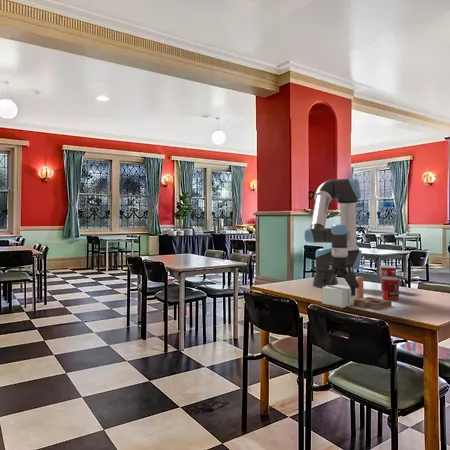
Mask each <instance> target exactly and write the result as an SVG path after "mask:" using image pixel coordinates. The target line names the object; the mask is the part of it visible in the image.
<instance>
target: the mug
mask: <svg viewBox="0 0 450 450" xmlns="http://www.w3.org/2000/svg"><path fill="white" fill-rule="evenodd" d="M379 272H380V273H379V274H380V288H381V291H383V284H382V280H383V277H397V266H395V265H393V266H392V265H380V266H379Z"/></svg>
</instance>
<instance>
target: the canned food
mask: <svg viewBox="0 0 450 450" xmlns="http://www.w3.org/2000/svg"><path fill="white" fill-rule="evenodd" d="M399 278H400V277H398V276H396V277H383V280H382V284H383V290H382V299H384V300H390V301H392V302H395V301H399V299H400V279H399Z"/></svg>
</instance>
